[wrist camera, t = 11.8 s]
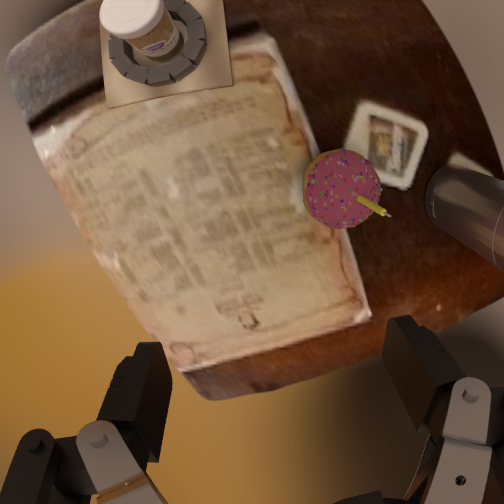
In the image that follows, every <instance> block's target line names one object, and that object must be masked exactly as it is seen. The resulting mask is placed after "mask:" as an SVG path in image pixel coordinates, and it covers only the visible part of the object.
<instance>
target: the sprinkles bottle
mask: <svg viewBox="0 0 504 504" xmlns="http://www.w3.org/2000/svg"><path fill="white" fill-rule="evenodd" d="M100 21H101V24H102V25H103V27H104V28H105V29H106V30H107V31H108V32H110V33H111V34H112V35H114V36H116V37H118V38H122V39H124V40H125V41H126V42H128V43H129V44H131V46H132V47H134V48H135V49H136V50H138V51H139V52H140V53H142V54H144V55H146V57H147V58H148V59H150V60H151V61H153V62H157V63H162V62H168V61H171V60H173V59H174V58H175V57H177V56H178V55H179V53H180V52H181V51H182V48H183V45H184V39H183V35H182V33H181V32H180V31H179V30H178V28H177V26H176V24H175V22H174V21H173V19H172V17H171V16H170V14H169V12H168V11H167V9H166V8H165V7H164V2H163V0H104V1H103V3H102V5H101V8H100Z"/></svg>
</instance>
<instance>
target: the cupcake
mask: <svg viewBox="0 0 504 504" xmlns="http://www.w3.org/2000/svg"><path fill="white" fill-rule="evenodd" d="M380 186H381V184H380V178H379V177H378V175H377V173H376V172H375V170H374V168H373V167H372V166H371V164H370V162H369V161H367V160H366V159H365V158H364V157H363V156H362V155H360V154H358V153H355V152H353V151H349V150H345V149H336V150H332V151H327V152H324V153H321V154H320V155H318V156H317V157H316V158H315V159H314V160H313V161H312V162H311V163H310V164H309V165H308V167H307V168H306V171H305V173H304V177H303V202H304V205H305V207H306V209H307V211H308V213H309V214H310V215H311V216H312V217H313V218H315V219H316V220H318V221H319V222H320V223H321V224H324V225H326V226H328V227H329V228H331V229H341V228H349V227H355V226H356V225H358V224H360V223H361V222H364V221H365V220H366V219H367V218H368V216H369V215H371V214H372V213H373V212H374V211H375V212H377V213H378V214H380V215H382V216H385V215H387V216H388V217H391V215H390V214H388V213H387V211H386V210H385V209H384V208H382V207H380V206H379V205H378V201H379V200H380V199H379V198H380V196H379V195H381V193H380V191H382V188H380ZM380 189H381V190H380ZM372 211H373V212H372Z"/></svg>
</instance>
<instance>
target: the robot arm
mask: <svg viewBox="0 0 504 504" xmlns="http://www.w3.org/2000/svg"><path fill="white" fill-rule="evenodd" d="M425 208H426V212H427V215H428V217H429V219H430V220H431V222H432V223H434V224H435V225H436V226H438V227H439V228H441V229H442V230H444V231H445V232H447V233H448V234H450V235H451V236H453V237H454V238H456V239H457V240H459V241H460V242H462V243H463V244H465V245H466V246H468V247H469V248H471V249H472V250H474V251H475V252H477V253H478V254H479V255H481V256H482V257H484V258H485V259H486V260H488V261H489V262H491V263H492V264H493V265H495V266H496V267H498V268H499V269H500V270H502V271H503V272H504V181H502V180H499V179H497V178H494V177H491V176H488V175H485V174H482V173H479V172H476V171H474V170H471V169H468V168H464V167H461V166H458V165H455V164H449V165H445V166H443V167H441V168H439V169H438V170H437V171H436V172H435V173H434V174H433V176H432V177H431V179H430V181H429V183H428V185H427V188H426V192H425ZM382 359H383V364H384V367H385V369H386V371H387V373H388V375H389V377H390V379H391V381H392V382H393V385H394V386H395V388H396V391H397V393H398V395H399V397H400V399H401V401H402V403H403V404H404V407H405V409H406V411H407V413H408V415H409V417H410V419H411V422H412V423H413V426H414V428H415V430H416V432H419V431H423V430H426V429H428V431H429V433H430V436H429V437H428V440H427V443H426V446H425V449H424V452H423V455H422V458H421V461H420V464H419V467H418V469H417V472H416V475H415V477H414V480H413V482H412V484H411V486H410V488H409V489H408V491H407V493H406V495H405V497H404V499H397V498H383V497H382V494H381V491H380V490H378V491H375V492H371V493H367V494H363V495H359V496H355V497H350V498H346V499H343V500H341V501H338V502H336V503H334V504H481V502H482V498H483V494H484V490H485V485H486V480H487V475H488V471H489V465H490V466H491V468H492V470H493V473H494V475H495V477H496V480H497V482H498V484H499V487H500V489H501V492H502V494H503V497H504V387H499V388H488V386H487V385H486V384H485V383H484V382H482V381H481V380H479V379H476V378H469V377H468V378H467V377H466V376H465V374H464V373H463V372H462V370H461V369H460V368H459V366H458V364H457V363H456V362H455V360H454V359H453V358H452V356H451V355H450V353H449V352H448V351H446V348H445V347H444V345H443V344H441V342H440V340H439V339H438V338H437V336H436V335H435V334H434V333H433V332H432V331H430V330H429V329H427V328H426V327H424V326H418V325H417V323H416V322H415V321H414V319H413V318H412V317H411V316H410V315H404V316H399V317H393V318H390V319H389V320H388V323H387V328H386V334H385V339H384V344H383V350H382ZM171 392H172V375H171V371H170V368H169V365H168V362H167V359H166V356H165V353H164V350H163V347H162V344H161V343H160V342H139V343H138V345H137V347H136V350H135V352H134V355H133V356H126V357H125V358H124V359H123V360H122V362H121V363H120V364H119V365H118V366H117V368H116V370H115V373H114V375H113V379H112V380H111V383H110V388H108V390H107V393H106V395H105V399H104V401H103V403H102V406H101V409H100V411H99V414H98V417H97V419H96V421H93V422H90V423H88V424H86V425H85V426H84V427H83V428H82V429H81V430H80V431H79V433H78V435H77V436H73V437H66V438H57V439H54V437H53V436H52V435H51V434H50V433H49V432H48V431H46V430H44V429H34V430H31V431H29V432H27V433H26V434H25V435H24V436H23V437H22V438H21V440H20V442H19V444H18V447H17V449H16V452H15V454H14V457H13V459H12V462H11V465H10V468H9V470H8V473H7V476H6V478H5V481H4V484H3V487H2V490H1V493H0V504H90V500H91V495H92V494H99V497H97V503H98V504H168V502H167V501H166V500H165V498H164V497H163V496H162V494H161V493H160V492H159V490H158V488H157V487H156V486H155V484H154V483H153V481H152V480H151V478H150V477H149V475H148V474H147V473H146V468H147V463H148V462H155V463H158V462H159V457H160V452H161V446H162V440H163V435H164V429H165V424H166V418H167V413H168V408H169V402H170V397H171Z"/></svg>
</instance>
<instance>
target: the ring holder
mask: <svg viewBox="0 0 504 504" xmlns="http://www.w3.org/2000/svg"><path fill="white" fill-rule="evenodd" d="M163 2H164V7H165V8H166V9H167V11H168V12H169V14H170V16H171V17H172V19H173V21H174V22H175V24H176V26H177V28H178V30H179V31H180V32H181V33H182V35H183V39H184V45H183V48H182V51H181V52H180V53H179V55H178V56H177V57H175V58H174V59H173V60H171V61H168V62H162V63H157V62H153V61H151V60H150V59H148V58H147V57H146V55H144V54H142V53H140V52H139V51H138V50H136V49H135V48H134V47H132V46H131V44H129V43H128V42H126V41H125V40H124V39H122V38H118V37H116V36H114V35H112V34H111V33H110V32H108V31H107V30H106V29H105V28H104V27H103V25H102V24H101V21H100V35H101V51H102V64H103V75H104V85H105V94H106V103H107V109H113V108H117V107H121V106H125V105H129V104H133V103H137V102H142V101H146V100H151V99H156V98H160V97H165V96H171V95H176V94H182V93H188V92H194V91H200V90H207V89H214V88H221V87H229V86H233V84H232V76H231V67H230V59H229V50H228V41H227V33H226V24H225V16H224V7H223V0H163Z"/></svg>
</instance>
